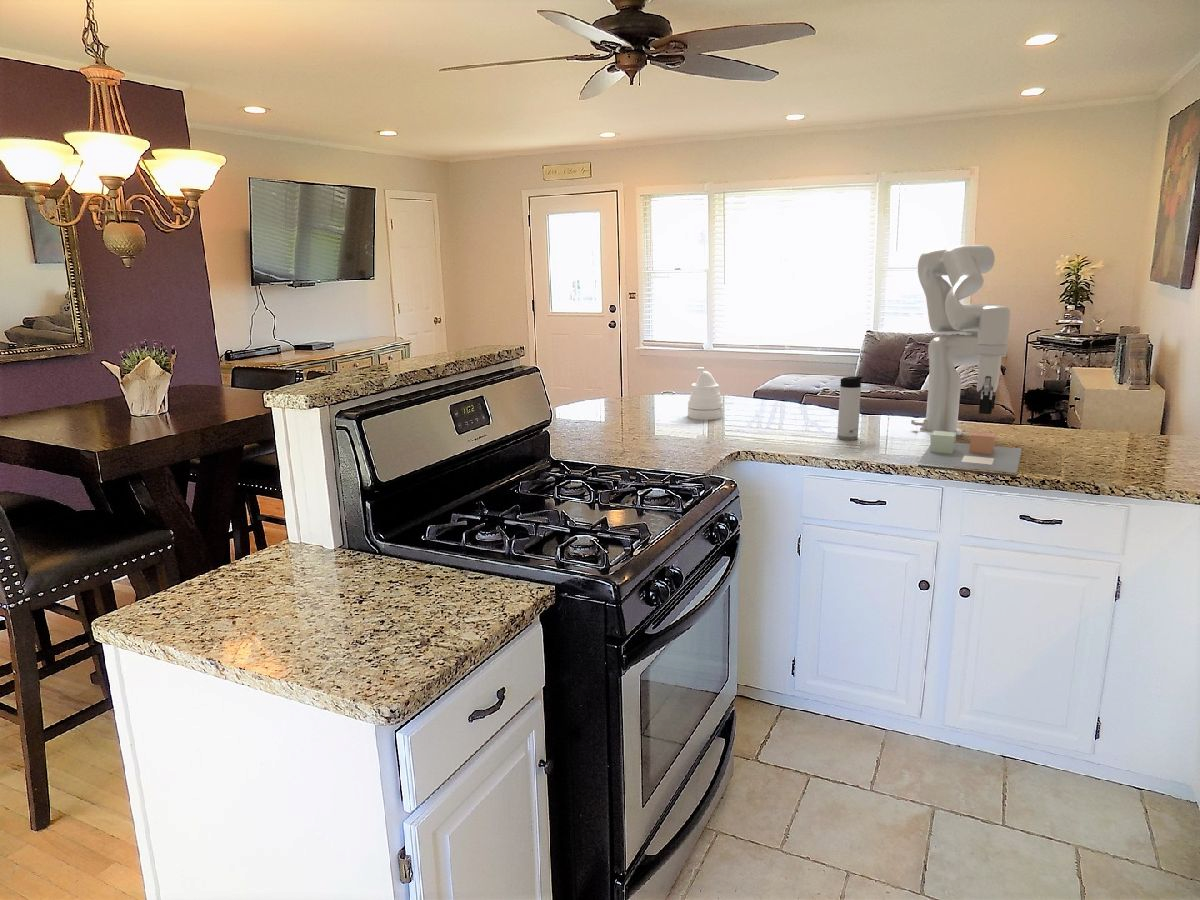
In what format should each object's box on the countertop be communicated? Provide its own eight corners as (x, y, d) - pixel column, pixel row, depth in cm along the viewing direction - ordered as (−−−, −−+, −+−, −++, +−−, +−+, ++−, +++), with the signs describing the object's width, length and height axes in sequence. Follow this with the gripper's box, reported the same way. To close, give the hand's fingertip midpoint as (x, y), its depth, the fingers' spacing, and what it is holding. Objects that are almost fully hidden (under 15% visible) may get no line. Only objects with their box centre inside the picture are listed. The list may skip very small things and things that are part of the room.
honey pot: (686, 419, 285) (687, 370, 281) (688, 412, 298) (689, 365, 293) (722, 419, 283) (723, 370, 279) (723, 413, 296) (724, 365, 291)
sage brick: (929, 451, 227) (931, 434, 226) (932, 447, 232) (934, 430, 231) (952, 453, 224) (953, 436, 223) (954, 449, 229) (956, 432, 228)
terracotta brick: (969, 452, 226) (970, 435, 225) (971, 447, 231) (972, 431, 230) (992, 454, 223) (994, 437, 222) (993, 449, 228) (995, 432, 227)
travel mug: (855, 441, 247) (859, 377, 242) (834, 439, 250) (838, 376, 246) (861, 437, 252) (864, 375, 247) (840, 435, 255) (843, 374, 251)
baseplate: (917, 466, 215) (918, 462, 215) (932, 444, 241) (933, 440, 240) (1016, 477, 204) (1016, 472, 203) (1021, 452, 229) (1021, 448, 229)
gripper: (979, 348, 229) (974, 406, 233) (974, 353, 214) (969, 414, 218) (1008, 348, 225) (1003, 407, 229) (1004, 353, 211) (999, 416, 214)
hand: (986, 411), depth 224 cm, fingers open, 9 cm apart
